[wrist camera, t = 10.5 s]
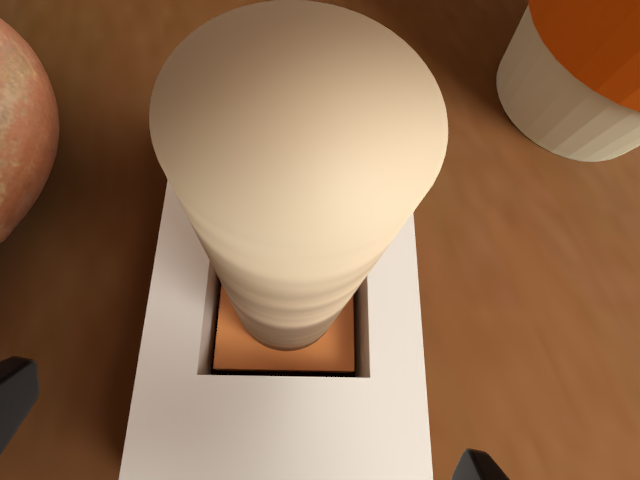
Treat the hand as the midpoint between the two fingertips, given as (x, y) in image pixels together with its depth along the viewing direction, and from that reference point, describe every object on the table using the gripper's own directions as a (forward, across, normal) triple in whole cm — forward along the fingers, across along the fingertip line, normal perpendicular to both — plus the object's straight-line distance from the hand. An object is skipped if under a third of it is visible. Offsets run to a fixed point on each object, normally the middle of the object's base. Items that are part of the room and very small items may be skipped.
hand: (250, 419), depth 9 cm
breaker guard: (+9, 0, +3) cm, 10 cm away
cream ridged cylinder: (+8, 0, +2) cm, 8 cm away
